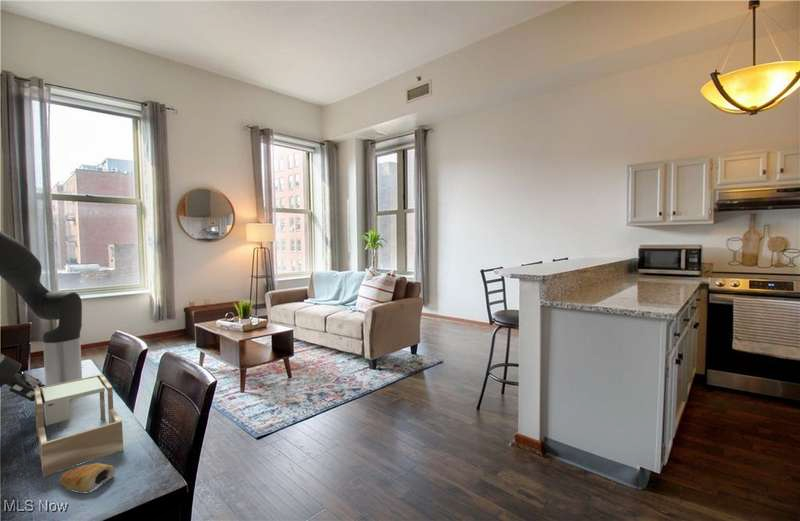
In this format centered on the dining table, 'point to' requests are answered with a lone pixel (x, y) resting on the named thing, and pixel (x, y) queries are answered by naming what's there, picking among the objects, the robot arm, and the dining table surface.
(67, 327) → the robot arm
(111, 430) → the trapdoor frame
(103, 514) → the dining table surface
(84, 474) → the pastry
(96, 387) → the trapdoor
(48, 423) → the white rectangular block
